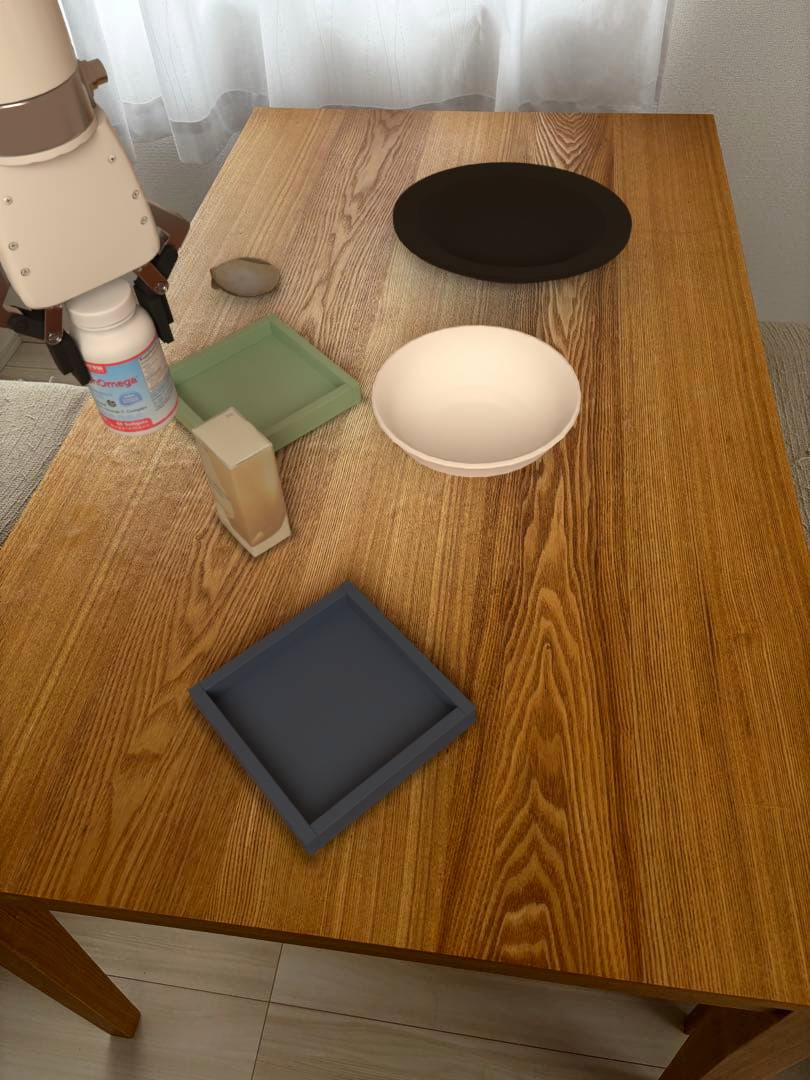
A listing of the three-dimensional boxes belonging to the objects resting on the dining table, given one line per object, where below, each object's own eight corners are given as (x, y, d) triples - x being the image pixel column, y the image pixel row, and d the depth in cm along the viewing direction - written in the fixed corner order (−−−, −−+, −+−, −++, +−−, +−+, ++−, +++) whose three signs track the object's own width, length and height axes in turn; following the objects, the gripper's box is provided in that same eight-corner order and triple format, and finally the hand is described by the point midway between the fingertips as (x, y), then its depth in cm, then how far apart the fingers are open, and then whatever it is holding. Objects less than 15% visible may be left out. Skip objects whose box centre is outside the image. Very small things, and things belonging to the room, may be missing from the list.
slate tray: (310, 856, 62) (306, 844, 60) (194, 704, 70) (187, 689, 68) (475, 722, 68) (476, 707, 66) (351, 595, 76) (348, 579, 74)
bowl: (410, 358, 95) (407, 310, 90) (590, 390, 90) (598, 341, 85) (348, 489, 83) (341, 442, 78) (551, 532, 79) (558, 486, 74)
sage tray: (234, 476, 85) (228, 459, 83) (153, 395, 93) (147, 377, 91) (361, 400, 91) (359, 382, 89) (275, 330, 99) (272, 312, 97)
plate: (367, 297, 102) (363, 256, 98) (428, 191, 116) (426, 150, 111) (605, 336, 96) (612, 294, 91) (639, 219, 109) (647, 177, 105)
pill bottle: (89, 432, 67) (33, 313, 59) (128, 381, 71) (81, 261, 62) (158, 447, 66) (111, 327, 57) (194, 394, 69) (156, 274, 61)
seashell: (280, 314, 104) (279, 263, 107) (280, 297, 101) (279, 245, 104) (209, 312, 102) (211, 260, 106) (208, 294, 100) (209, 241, 103)
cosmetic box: (218, 520, 82) (187, 427, 72) (256, 497, 83) (230, 402, 74) (256, 561, 79) (228, 469, 69) (295, 536, 80) (273, 442, 71)
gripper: (127, 41, 55) (196, 283, 69) (-148, 138, 49) (-10, 381, 63) (186, 80, 51) (246, 328, 65) (-104, 190, 45) (32, 437, 59)
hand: (119, 352), depth 64 cm, fingers closed on pill bottle, 6 cm apart
